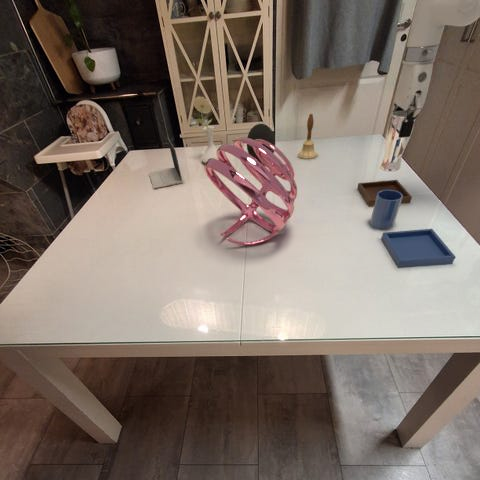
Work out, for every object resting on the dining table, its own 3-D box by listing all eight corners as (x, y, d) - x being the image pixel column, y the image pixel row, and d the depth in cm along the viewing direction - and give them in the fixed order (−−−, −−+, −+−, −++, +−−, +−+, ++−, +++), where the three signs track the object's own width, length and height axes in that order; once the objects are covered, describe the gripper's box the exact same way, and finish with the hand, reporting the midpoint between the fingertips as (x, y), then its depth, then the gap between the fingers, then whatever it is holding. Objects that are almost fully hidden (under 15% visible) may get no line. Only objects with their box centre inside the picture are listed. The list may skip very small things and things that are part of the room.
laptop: (149, 174, 136) (139, 143, 127) (175, 168, 138) (168, 137, 129) (154, 189, 124) (143, 156, 115) (183, 183, 126) (175, 149, 117)
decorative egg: (269, 169, 128) (268, 129, 117) (243, 166, 133) (240, 128, 122) (279, 158, 136) (279, 120, 125) (254, 156, 140) (252, 119, 129)
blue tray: (429, 235, 86) (432, 228, 84) (452, 263, 77) (455, 256, 75) (381, 238, 87) (382, 232, 85) (398, 267, 77) (400, 260, 76)
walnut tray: (395, 185, 108) (397, 179, 107) (410, 203, 99) (412, 196, 97) (357, 188, 109) (358, 183, 107) (368, 206, 100) (369, 200, 98)
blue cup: (389, 217, 94) (397, 188, 88) (396, 228, 90) (406, 199, 83) (367, 218, 95) (374, 190, 88) (373, 230, 90) (381, 201, 83)
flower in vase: (230, 159, 140) (223, 94, 122) (213, 167, 135) (203, 100, 117) (211, 154, 147) (201, 92, 129) (194, 162, 142) (182, 98, 123)
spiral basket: (194, 208, 68) (271, 105, 64) (169, 193, 90) (225, 117, 87) (269, 274, 84) (334, 195, 81) (233, 248, 107) (282, 185, 103)
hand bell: (318, 152, 136) (322, 111, 124) (314, 159, 131) (318, 117, 119) (300, 151, 139) (302, 111, 127) (296, 158, 134) (298, 117, 122)
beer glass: (377, 171, 96) (390, 117, 85) (379, 163, 100) (391, 110, 89) (400, 172, 94) (417, 117, 83) (401, 164, 98) (417, 110, 87)
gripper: (451, 57, 71) (424, 141, 84) (420, 49, 82) (401, 123, 95) (418, 61, 71) (396, 143, 84) (393, 52, 83) (377, 125, 96)
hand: (399, 132), depth 90 cm, fingers closed on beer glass, 7 cm apart
